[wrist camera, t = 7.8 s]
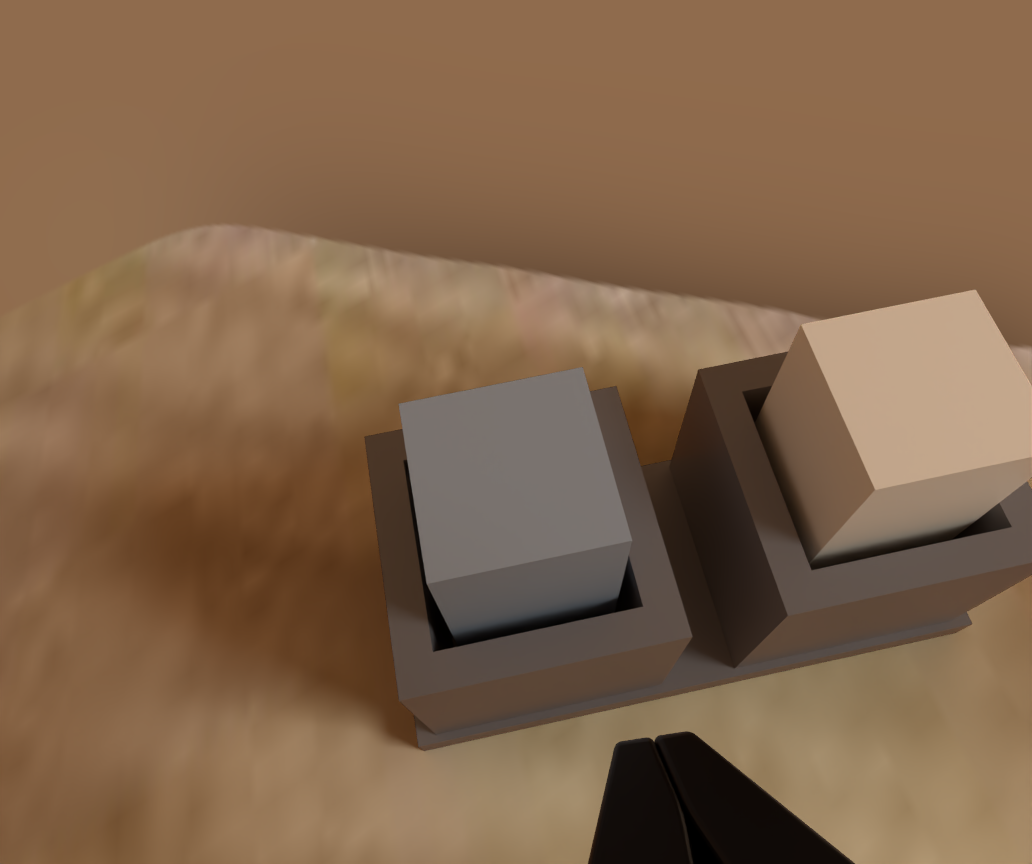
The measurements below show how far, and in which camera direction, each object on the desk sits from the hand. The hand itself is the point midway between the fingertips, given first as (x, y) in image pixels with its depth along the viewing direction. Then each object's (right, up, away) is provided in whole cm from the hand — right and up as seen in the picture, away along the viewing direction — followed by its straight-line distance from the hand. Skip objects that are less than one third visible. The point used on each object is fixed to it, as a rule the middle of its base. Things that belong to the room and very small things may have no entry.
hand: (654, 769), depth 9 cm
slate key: (-1, 0, +12) cm, 12 cm away
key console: (+3, -1, +15) cm, 15 cm away
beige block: (+7, +1, +12) cm, 14 cm away
